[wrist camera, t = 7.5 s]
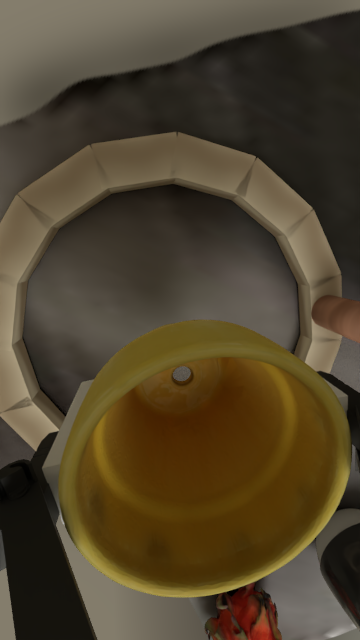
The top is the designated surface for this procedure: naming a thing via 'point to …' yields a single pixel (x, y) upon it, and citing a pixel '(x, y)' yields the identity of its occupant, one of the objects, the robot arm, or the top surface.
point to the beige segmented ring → (144, 172)
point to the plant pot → (202, 461)
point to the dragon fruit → (244, 616)
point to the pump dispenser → (342, 559)
